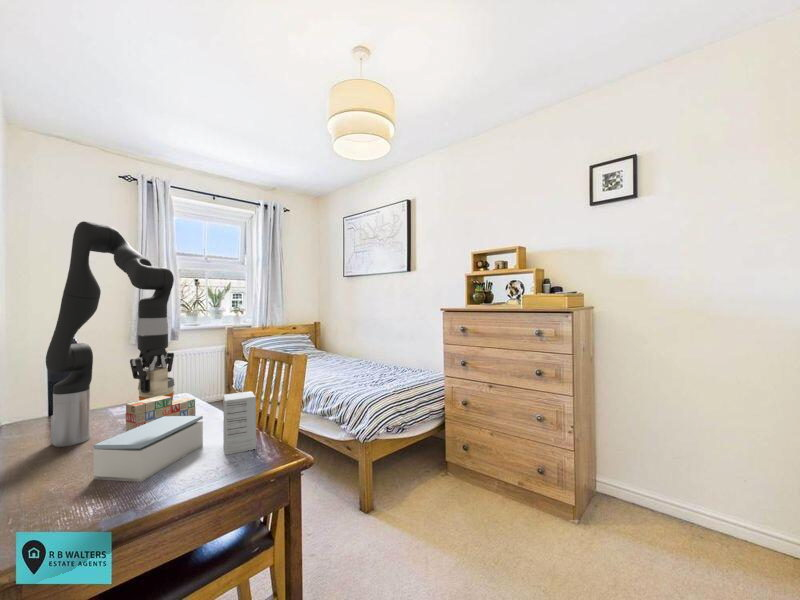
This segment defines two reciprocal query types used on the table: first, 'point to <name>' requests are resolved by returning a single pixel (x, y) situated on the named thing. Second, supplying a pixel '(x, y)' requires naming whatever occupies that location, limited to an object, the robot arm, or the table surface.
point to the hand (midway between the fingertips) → (153, 389)
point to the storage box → (147, 456)
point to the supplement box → (239, 422)
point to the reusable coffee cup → (168, 393)
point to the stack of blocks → (157, 410)
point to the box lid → (148, 433)
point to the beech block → (157, 381)
